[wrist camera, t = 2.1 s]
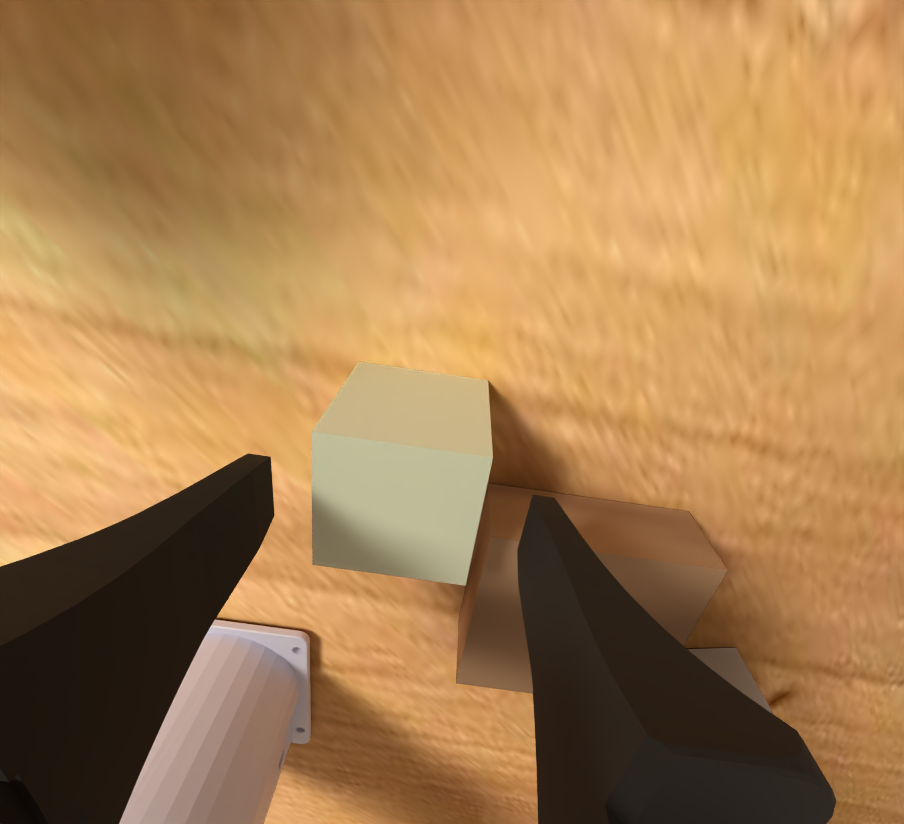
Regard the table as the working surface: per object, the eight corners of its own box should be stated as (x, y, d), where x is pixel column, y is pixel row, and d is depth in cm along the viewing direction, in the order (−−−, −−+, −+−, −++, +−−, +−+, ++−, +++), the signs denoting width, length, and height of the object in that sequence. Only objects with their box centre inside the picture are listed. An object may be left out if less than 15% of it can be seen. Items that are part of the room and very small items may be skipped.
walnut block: (624, 642, 21) (646, 708, 18) (458, 619, 21) (456, 683, 18) (688, 511, 17) (727, 570, 15) (488, 483, 17) (490, 537, 14)
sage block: (468, 484, 17) (465, 585, 13) (354, 467, 17) (312, 564, 13) (488, 379, 15) (492, 457, 11) (359, 360, 15) (311, 431, 11)
